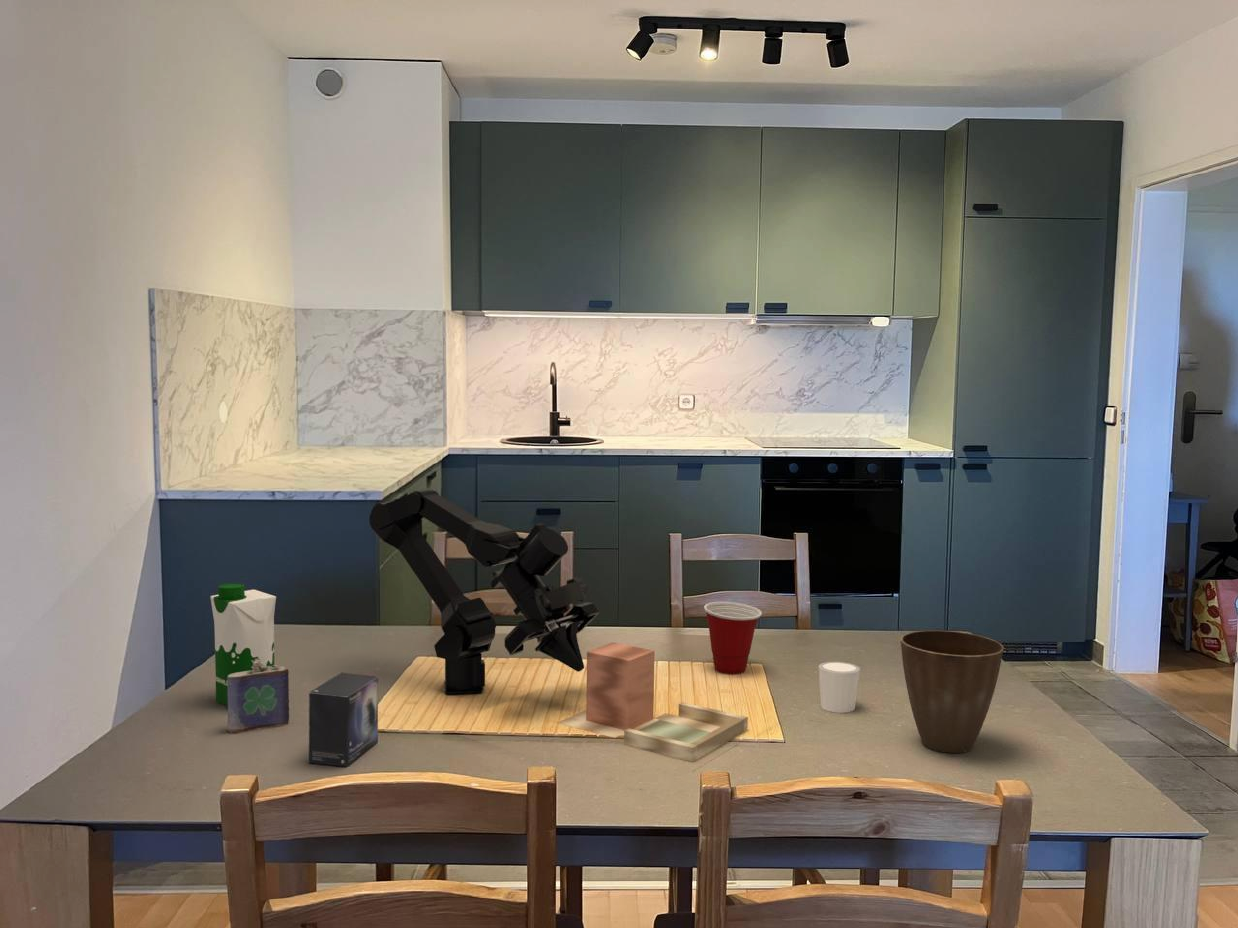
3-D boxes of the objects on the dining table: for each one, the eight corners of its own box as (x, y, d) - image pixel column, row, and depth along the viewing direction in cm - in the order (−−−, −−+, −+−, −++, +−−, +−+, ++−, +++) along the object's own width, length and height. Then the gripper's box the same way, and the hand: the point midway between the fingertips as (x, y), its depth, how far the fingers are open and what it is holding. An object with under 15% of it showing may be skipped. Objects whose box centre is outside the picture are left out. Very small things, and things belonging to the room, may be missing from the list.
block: (586, 720, 167) (586, 651, 166) (611, 708, 172) (612, 642, 171) (628, 731, 162) (629, 660, 161) (653, 718, 168) (654, 650, 167)
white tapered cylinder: (862, 704, 181) (864, 664, 181) (853, 716, 175) (855, 674, 174) (822, 698, 184) (824, 658, 183) (812, 709, 178) (813, 669, 177)
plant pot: (886, 726, 170) (890, 628, 169) (980, 728, 170) (985, 630, 168) (909, 761, 156) (913, 654, 154) (1012, 764, 155) (1018, 656, 154)
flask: (229, 734, 163) (228, 665, 162) (225, 728, 165) (224, 661, 164) (291, 724, 167) (290, 658, 166) (286, 719, 170) (285, 653, 169)
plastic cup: (745, 682, 193) (746, 617, 191) (692, 672, 198) (693, 609, 197) (769, 668, 202) (771, 605, 201) (718, 658, 207) (719, 598, 206)
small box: (349, 768, 150) (348, 695, 149) (306, 764, 151) (305, 692, 150) (380, 742, 160) (380, 674, 159) (340, 738, 162) (339, 671, 161)
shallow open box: (552, 733, 165) (552, 711, 164) (613, 706, 178) (613, 686, 178) (692, 771, 150) (692, 747, 150) (747, 739, 164) (747, 716, 163)
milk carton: (207, 701, 178) (204, 583, 176) (258, 689, 184) (255, 575, 182) (233, 713, 172) (230, 591, 170) (284, 701, 178) (282, 583, 176)
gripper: (518, 571, 165) (574, 653, 160) (590, 554, 180) (643, 628, 175) (480, 614, 170) (533, 694, 165) (553, 594, 185) (604, 667, 180)
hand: (581, 669), depth 171 cm, fingers closed
